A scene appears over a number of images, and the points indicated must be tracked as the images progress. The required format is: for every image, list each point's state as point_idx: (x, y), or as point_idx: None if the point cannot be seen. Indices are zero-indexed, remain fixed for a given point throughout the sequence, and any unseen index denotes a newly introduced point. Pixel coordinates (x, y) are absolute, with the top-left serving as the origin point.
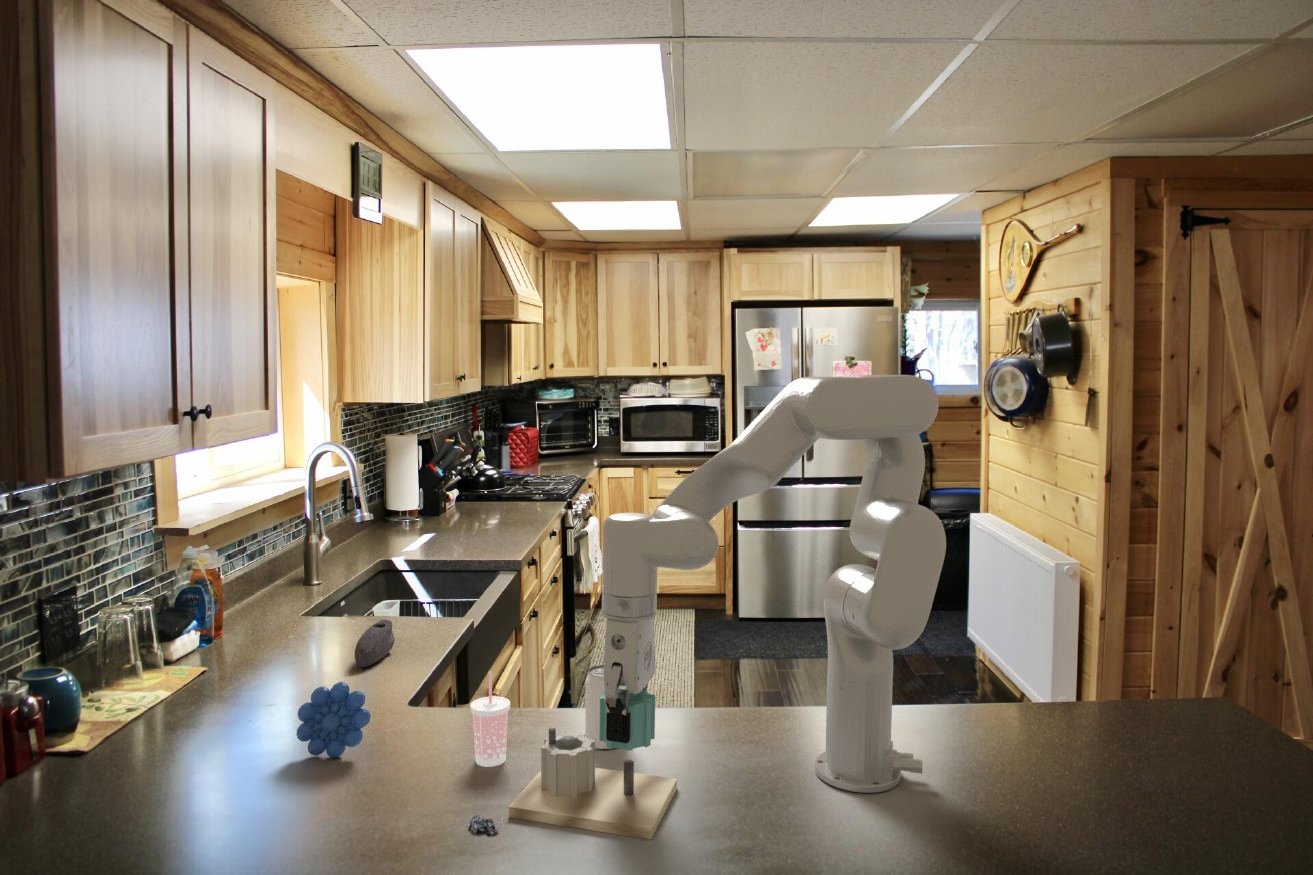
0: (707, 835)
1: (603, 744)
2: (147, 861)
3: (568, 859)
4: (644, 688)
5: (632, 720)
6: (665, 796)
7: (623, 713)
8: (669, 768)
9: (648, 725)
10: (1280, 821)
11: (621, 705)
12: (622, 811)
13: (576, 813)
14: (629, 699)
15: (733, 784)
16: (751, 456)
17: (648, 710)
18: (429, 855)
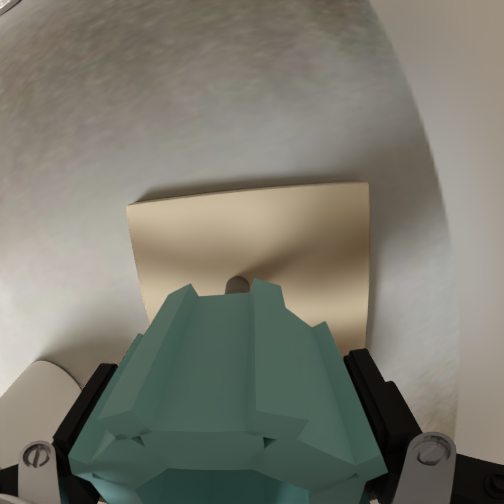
0: (302, 74)
1: (75, 390)
2: None
3: (444, 295)
4: (58, 459)
5: (359, 401)
6: (218, 199)
7: (447, 444)
8: (67, 251)
9: (277, 325)
10: None
11: (464, 480)
12: (321, 268)
13: (353, 345)
14: (400, 502)
15: (75, 99)
16: None
17: (287, 380)
18: (439, 431)
